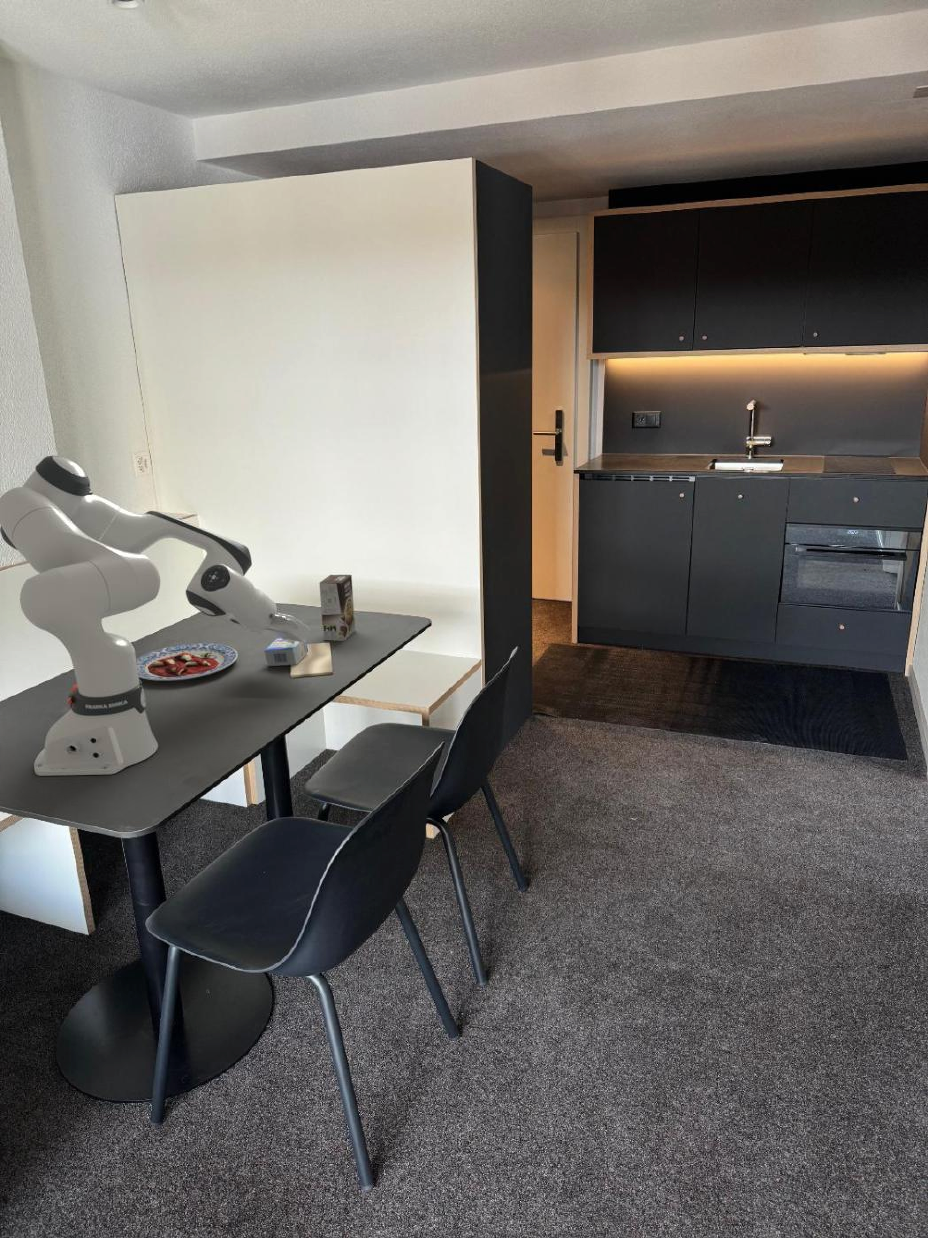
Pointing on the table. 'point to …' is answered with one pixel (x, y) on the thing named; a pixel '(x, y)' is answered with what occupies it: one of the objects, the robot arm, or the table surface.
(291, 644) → the medicine box
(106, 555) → the robot arm
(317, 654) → the oak board
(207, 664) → the ceramic plate
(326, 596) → the coffee box
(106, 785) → the table surface
